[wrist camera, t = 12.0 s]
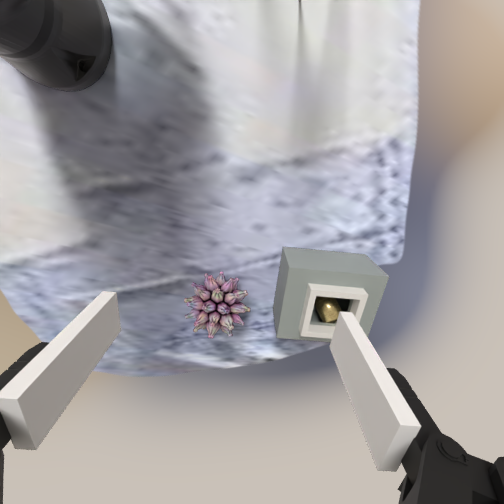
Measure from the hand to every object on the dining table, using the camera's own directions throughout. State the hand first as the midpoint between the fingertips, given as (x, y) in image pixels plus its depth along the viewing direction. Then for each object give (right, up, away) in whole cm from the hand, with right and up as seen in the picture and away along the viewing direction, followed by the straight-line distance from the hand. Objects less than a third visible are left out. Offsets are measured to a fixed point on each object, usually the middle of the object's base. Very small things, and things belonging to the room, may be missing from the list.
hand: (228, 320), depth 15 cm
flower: (-5, -3, +36) cm, 36 cm away
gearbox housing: (+14, -2, +35) cm, 38 cm away
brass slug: (+14, -3, +34) cm, 37 cm away
